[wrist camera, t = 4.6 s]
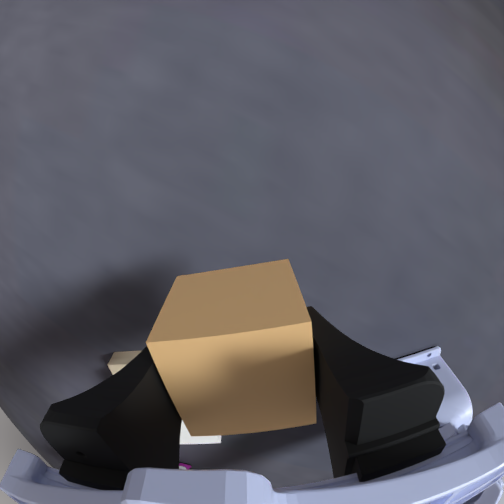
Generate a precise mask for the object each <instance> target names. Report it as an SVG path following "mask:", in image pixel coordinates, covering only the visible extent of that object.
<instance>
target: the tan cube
mask: <svg viewBox="0 0 504 504" xmlns="http://www.w3.org/2000/svg"><path fill="white" fill-rule="evenodd" d="M146 344H147V346H148V349H149V351H150V354H151V356H152V358H153V360H154V363H155V365H156V367H157V369H158V372H159V374H160V376H161V378H162V380H163V382H164V385H165V387H166V389H167V391H168V393H169V395H170V397H171V399H172V401H173V403H174V405H175V407H176V409H177V411H178V413H179V415H180V417H181V419H182V420H183V422H184V424H185V426H186V428H187V430H188V432H189V433H190V435H191V436H218V435H233V434H245V433H255V432H264V431H272V430H279V429H286V428H292V427H298V426H304V425H310V424H315V423H316V393H315V370H314V352H313V336H312V321H311V319H310V316H309V313H308V310H307V308H306V305H305V302H304V299H303V297H302V294H301V291H300V289H299V286H298V283H297V281H296V278H295V275H294V273H293V270H292V267H291V265H290V262H289V260H288V259H284V260H278V261H272V262H266V263H260V264H253V265H247V266H241V267H234V268H228V269H221V270H215V271H208V272H202V273H195V274H189V275H182V276H177V277H176V279H175V282H174V284H173V286H172V288H171V290H170V292H169V294H168V296H167V298H166V300H165V302H164V304H163V307H162V309H161V311H160V313H159V315H158V317H157V319H156V321H155V324H154V326H153V328H152V330H151V332H150V335H149V337H148V339H147V341H146Z"/></svg>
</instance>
